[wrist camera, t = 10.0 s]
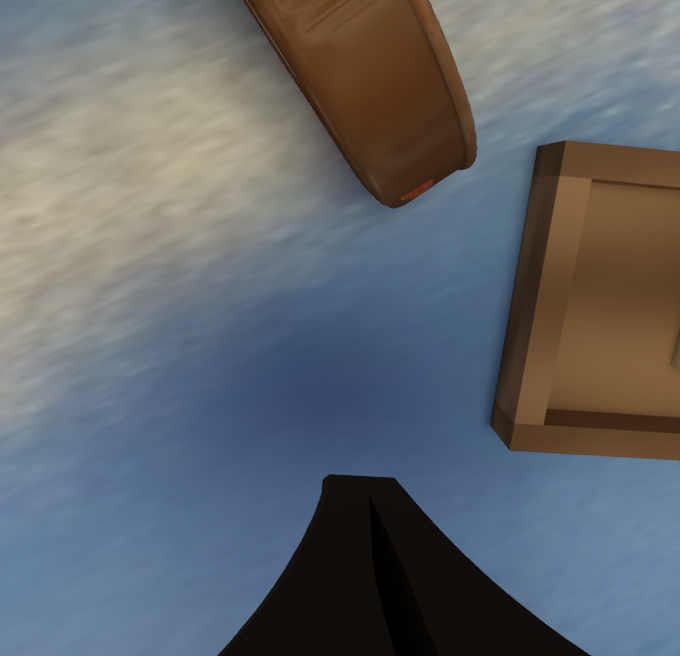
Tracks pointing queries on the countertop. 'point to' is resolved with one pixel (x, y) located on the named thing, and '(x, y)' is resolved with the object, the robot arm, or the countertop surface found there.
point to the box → (596, 307)
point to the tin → (377, 87)
